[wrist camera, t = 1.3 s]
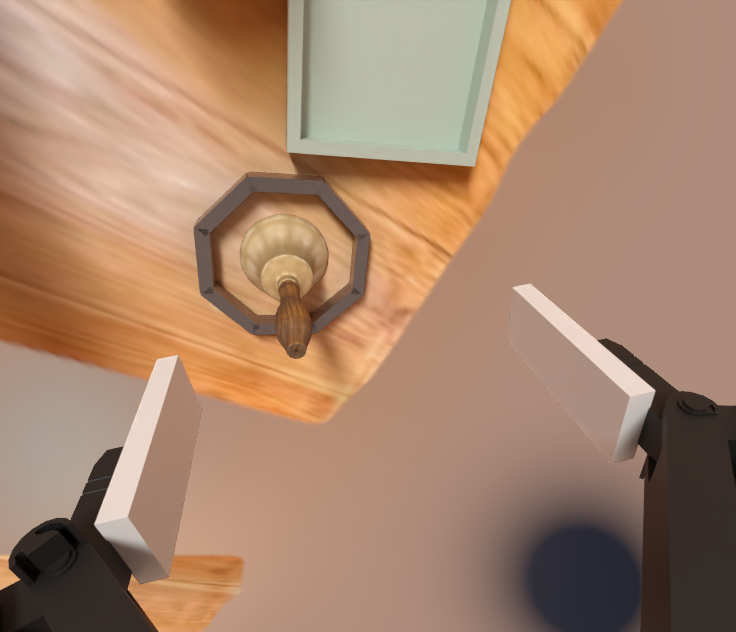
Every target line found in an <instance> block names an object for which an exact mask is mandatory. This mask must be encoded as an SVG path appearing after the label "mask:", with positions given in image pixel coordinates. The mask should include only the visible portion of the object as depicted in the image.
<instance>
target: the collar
mask: <svg viewBox="0 0 736 632" xmlns="http://www.w3.org/2000/svg"><path fill="white" fill-rule="evenodd" d="M253 191H254V192H272V193H291V194H309V195H318V196H319V197H320V198H321V199H322V200H323V201H324V202H325V203H326V204H327V206H328V207H329V208H330V209H331V210H332V211H333V212H334V213H335V214H336V216H337V217H338V218H339V219H340V220H341V221H342V222H343V223H344V224H345V226H346V227H347V228H348V229H349V230H350V231H351V232H352V233H353V234H354V237H353V248H352V259H351V270H350V281H349V283H348V284H347V285H346V286H345V287H343V288H342V289H341V290H340V291H339V292H337V293H336V294H335V295H334V296H333V297H331V298H330V299H329V300H328V301H327V302H325V303H324V304H323V305H322V306H321V307H319V308H318V309H317V310H316V311H315V312H313V313H312V314H311V315H310V318H311V323H312V334H316V333H318V332H319V331H320V330H322V329H323V328H324V327H325V326H326V325H328V324H329V323H330V322H331V321H332V320H334V319H335V318H336V317H337V316H339V315H340V314H341V313H342V312H343V311H345V310H346V309H347V308H348V307H349V306H351V305H352V304H353V303H354V302H356V301H357V300H358V299H359V298H360V297H362V296H363V294H364V287H365V278H366V269H367V260H368V251H369V242H370V233H369V231H368V229H367V227H366V226H365V225H364V224H363V223H362V221H361V220H360V219H359V218H358V217H357V216H356V215H355V213H354V212H353V211H352V210H351V209H350V208H349V207H348V205H347V204H346V203H345V202H344V201H343V200H342V198H341V197H340V196H339V195H338V194H337V193H336V192H335V190H334V189H333V188H332V187H331V186H330V185H329V184H328V182H327V181H326V180H325V179H324V178H322V177H321V176H309V175H293V174H278V173H262V172H249V173H246V174H245V175H244V176H243V177H242V178H241V179H239V180H238V181H237V182H236V183H235V184H234V185H233V186H232V187H231V188H230V189H229V190H228V191H227V192H226V193H225V194H224V195H223V196H222V197H221V198H220V199H219V200H218V201H217V202H216V203H215V204H213V205H212V206H211V207H210V208H209V209H208V210H207V211H206V212H205V213H204V214H203V215H202V216H201V217H200V218H199V219H198V220H197V222H196V224H195V226H194V238H195V248H196V258H197V268H198V278H199V288H200V294H201V295H202V296H203V297H204V298H205V299H207V300H208V301H209V302H211V303H212V304H213V305H215V306H216V307H217V308H218V309H220V310H221V311H222V312H224V313H225V314H226V315H227V316H229V317H230V318H231V319H233V320H234V321H235V322H236V323H238V324H239V325H240V326H242V327H243V328H244V329H245V330H247V331H248V332H249V333H251V334H253V335H270V334H276V332H275V317H276V315H257V314H255V313H254V312H253V311H252V310H250V309H249V308H248V307H247V306H246V305H244V304H243V303H242V302H241V301H239V300H238V299H237V298H236V297H234V296H233V295H232V294H231V293H230V292H228V291H227V290H226V289H225V288H223V287H222V286H221V285H220V284H218V283H217V282H216V280H215V267H214V255H213V242H212V230H213V229H214V228H215V227H216V226H217V225H219V224H220V223H221V222H222V221H223V220H224V219H225V218H226V217H227V216H228V215H229V214H230V213H231V212H232V211H233V210H234V209H235V208H237V207H238V206H239V205H240V204H241V203H242V202H243V201H244V200H245V199H246V198H247V197H248V196H249V195H250V194H251V193H252V192H253Z"/></svg>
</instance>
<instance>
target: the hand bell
mask: <svg viewBox="0 0 736 632" xmlns="http://www.w3.org/2000/svg"><path fill="white" fill-rule="evenodd" d="M240 261H241V265H242V268H243V270H244V273H245V274H246V276H247V277H248V279H249V280H250V281H251V282H252V283H253V284H254V285H255V286H256V287H258V288H259V289H261V290H263V291H265V292H267V294H268V295H269V296H271V297H272V298H274V299H276V300H279V301H280V302H281V304H280V306H279V307H278V309H277V312H276V317H275V332H276V336H277V338H278V340H279V342H280V343H281V345H282V346H283V347H284V349H285V350H286V352H287V354H288V355H289V357H291V358H294V359H298V358H301V357H303V356H304V355H305V353H306V350H307V346H308V344H309V341H310V339H311V335H312V323H311V318H310V315H309V313H308V311H307V309H306V307H305V306H304V305H303V304H302V303H301V301H300V298H301V297H303V296H304V295H305V294H306V293H307V292H308V291H309V290H310V288H311V287H313V286H314V285H315V284H316V283H317V282H318V281H319V280H320V278H321V277H322V275H323V274H324V272H325V270H326V267H327V262H328V248H327V245H326V242H325V239H324V238H323V236H322V234H321V233H320V231H319V230H318V229H317V228H316V227H315V226H314V225H313V224H311V223H310V222H309V221H307V220H305V219H303V218H301V217H297V216H294V215H287V214H281V215H273V216H269V217H266V218H264V219H262V220H260V221H258V222H257V223H256V224H254V225H253V226H252V227H251V228H250V229H249V230H248V232H247V233H246V235H245V236H244V238H243V240H242V243H241V248H240Z"/></svg>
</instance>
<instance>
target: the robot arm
mask: <svg viewBox="0 0 736 632" xmlns="http://www.w3.org/2000/svg"><path fill="white" fill-rule="evenodd" d="M510 314H511V315H510V327H509V340H508V343H509V344H510V345H511V346H512V348H513V349H514V350H515V351H516V352H517V354H518V355H519V356H520V357H521V358H522V360H523V361H524V362H525V363H526V364H527V366H528V367H529V368H530V369H531V370H532V371H533V373H535V375H536V376H537V377H538V379H539V380H540V381H541V382H542V383H543V384H544V386H545V387H546V388H547V389H548V390H549V391H550V393H551V394H552V395H553V396H554V397H555V399H556V400H557V401H558V402H559V403H560V404H561V406H562V407H563V408H564V409H565V410H566V412H567V413H568V414H569V415H570V416H571V417H572V418H573V420H574V421H575V422H576V423H577V425H578V426H579V427H580V428H581V429H582V430H583V432H584V433H585V434H586V435H587V436H588V438H589V439H590V440H591V441H592V442H593V443H594V445H595V446H596V447H597V448H598V449H599V451H600V452H601V453H602V454H603V455H604V456H605V458H606V459H607V460H608V461H609V462H610V463H611V464H613V463H617V462H620V461H624V460H628V459H632V458H634V456H635V453H636V449H637V447H638V444H639V445H640V446H641V447H642V449H644V451H645V452H646V453H647V457H646V460H645V463H644V466H643V469H642V472H641V474H640V478H641V479H644V477H645V481H644V517H643V518H644V519H643V520H644V521H643V554H642V592H641V594H642V595H641V629H640V632H736V406H720V405H717V404H716V403H715V402H713V401H712V400H710V399H708V398H707V397H705V396H703V395H699V394H696V393H692V392H684V391H681V392H679V391H678V390H676V389H675V388H674V387H673V386H671V385H670V384H669V383H668V382H666V381H665V380H664V379H663V378H662V377H660V376H659V375H658V374H657V373H655V372H654V371H653V370H652V369H650V368H649V367H648V366H646V365H644V364H643V362H641V361H640V360H639V359H638V358H637V357H634V355H633V354H632V353H630V352H629V351H628V350H627V349H626V348H624V347H623V346H622V345H619V344H617V343H615V342H613V341H610V340H608V339H602V340H598V341H597V340H596V339H594V338H593V337H592V336H591V335H590V334H589V333H587V332H586V331H585V330H584V329H583V328H581V327H580V326H579V325H578V324H577V323H576V322H575V321H573V320H572V319H571V318H570V317H569V316H567V315H566V314H565V313H564V312H563V311H562V310H560V309H559V308H558V307H557V306H556V305H555V304H553V303H552V302H551V301H550V300H549V299H547V298H546V297H545V296H544V295H543V294H542V293H540V292H539V291H538V290H537V289H536V288H535V287H534V286H532V285H531V284H527V285H521V286H517V287H513V288H512V300H511V313H510ZM201 412H202V408H201V406H200V403H199V401H198V399H197V396H196V394H195V392H194V390H193V387H192V385H191V383H190V380H189V378H188V376H187V374H186V371H185V369H184V367H183V364H182V362H181V360H180V358H179V355H176V356H171V357H166V358H161V359H157V361H156V363H155V366H154V368H153V371H152V374H151V376H150V379H149V382H148V384H147V387H146V390H145V392H144V395H143V397H142V400H141V403H140V405H139V408H138V411H137V413H136V416H135V418H134V421H133V424H132V426H131V429H130V432H129V434H128V437H127V440H126V442H125V445H124V446H123V447H119V448H114V449H110V450H107V451H106V452H105V453H104V454H103V456H102V457H101V458H100V459H99V460H98V461H97V463H96V464H95V465H94V467H93V470H92V472H91V474H90V476H89V479H88V483H86V486H85V488H84V490H83V495H82V496H81V497H80V499H79V501H78V504H77V506H76V508H75V511H74V513H73V515H72V518H71V520H68V519H67V518H55V519H52V520H49V521H46V522H44V523H42V524H40V525H39V526H37V527H35V528H33V529H32V530H31V531H30V532H29V533H27V534H26V535H25V536H24V537H23V538H21V540H20V541H19V543H18V544H17V545H16V546H15V547H14V549H13V550H12V553H11V555H10V558H9V560H8V561H9V569H10V570H11V571H12V572H13V573H14V574H15V575H16V576H17V577H18V578H20V579H21V580H19V581H17V582H16V583H14V584H12V585H10V586H8V587H6V588H4V589H2V590H0V632H158V630H157V629H156V628H155V626H154V625H153V623H152V622H151V621H150V619H149V618H148V617H147V615H146V614H145V612H144V611H143V610H142V608H141V607H140V606H139V604H138V603H137V601H136V600H135V599H134V597H133V596H132V595H131V593H130V592H129V591H128V590H127V589H128V585H129V582H130V578H131V574H133V576H134V577H135V578H136V580H137V581H138V582H139V584H144V583H148V582H152V581H156V580H160V579H163V578H167V577H169V576H170V571H171V566H172V561H173V556H174V550H175V545H176V540H177V535H178V530H179V525H180V519H181V515H182V509H183V504H184V499H185V494H186V488H187V484H188V479H189V473H190V469H191V464H192V458H193V453H194V448H195V443H196V438H197V432H198V427H199V423H200V417H201Z"/></svg>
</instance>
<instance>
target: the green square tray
mask: <svg viewBox="0 0 736 632" xmlns="http://www.w3.org/2000/svg"><path fill="white" fill-rule="evenodd" d="M510 3H511V0H287V84H286V149H287V152H288V153H302V154H315V155H328V156H341V157H355V158H368V159H381V160H395V161H408V162H421V163H434V164H448V165H461V166H474V167H475V163H476V158H477V154H478V149H479V145H480V140H481V135H482V131H483V126H484V122H485V117H486V113H487V108H488V104H489V99H490V94H491V90H492V85H493V81H494V76H495V72H496V67H497V62H498V58H499V53H500V49H501V44H502V40H503V35H504V31H505V26H506V21H507V17H508V12H509V8H510Z"/></svg>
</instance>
